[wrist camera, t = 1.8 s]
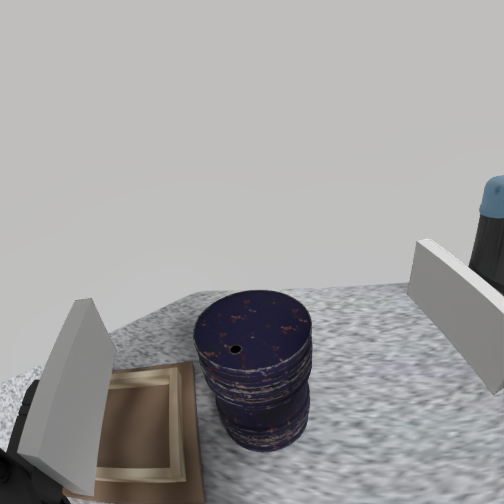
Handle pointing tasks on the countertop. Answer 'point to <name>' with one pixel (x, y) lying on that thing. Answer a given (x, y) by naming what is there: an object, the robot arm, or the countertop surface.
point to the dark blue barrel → (258, 366)
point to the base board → (149, 439)
